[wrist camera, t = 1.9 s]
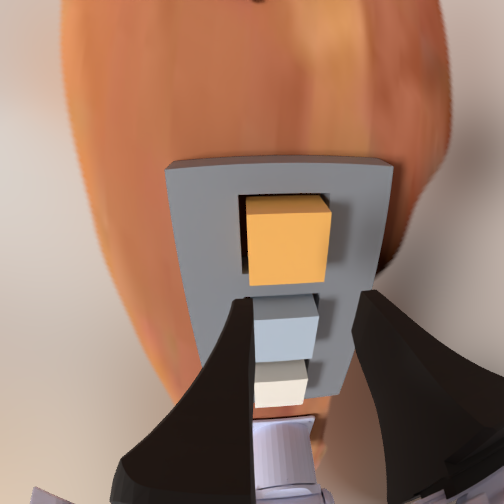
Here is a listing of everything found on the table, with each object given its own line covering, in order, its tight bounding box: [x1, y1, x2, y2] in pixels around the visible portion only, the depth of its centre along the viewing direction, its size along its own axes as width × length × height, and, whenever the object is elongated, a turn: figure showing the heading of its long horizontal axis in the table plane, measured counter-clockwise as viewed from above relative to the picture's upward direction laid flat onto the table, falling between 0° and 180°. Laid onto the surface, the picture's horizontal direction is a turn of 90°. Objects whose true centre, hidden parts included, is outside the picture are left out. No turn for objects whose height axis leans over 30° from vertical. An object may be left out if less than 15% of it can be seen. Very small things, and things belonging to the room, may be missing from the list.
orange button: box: [246, 195, 332, 286], centre depth 15 cm, size 4×4×2 cm
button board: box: [165, 155, 394, 403], centre depth 20 cm, size 21×12×2 cm, turn 2°
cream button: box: [254, 359, 308, 408], centre depth 22 cm, size 4×4×2 cm
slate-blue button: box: [250, 293, 319, 362], centre depth 19 cm, size 4×4×2 cm
